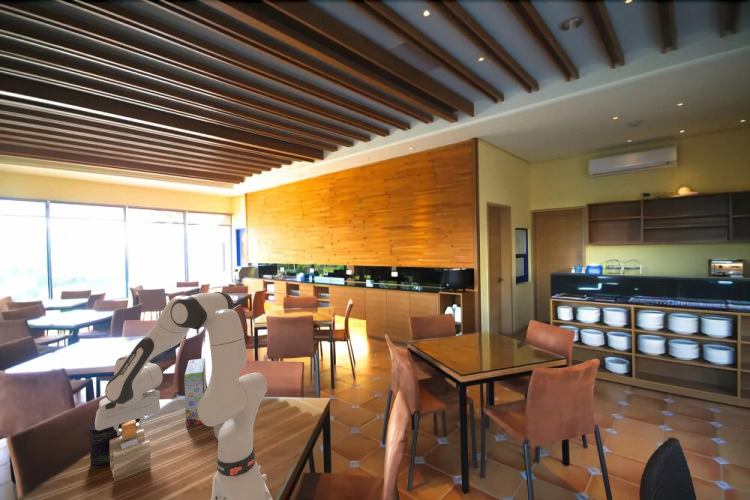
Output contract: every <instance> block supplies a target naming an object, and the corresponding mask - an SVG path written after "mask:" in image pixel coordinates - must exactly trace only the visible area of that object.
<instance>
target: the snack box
mask: <svg viewBox="0 0 750 500" xmlns="http://www.w3.org/2000/svg"><path fill="white" fill-rule="evenodd" d="M206 373H207V371H206V358H205V357H203V358H198V359H196V358H195V359H190V360H188V362H187V365H186V369H185V372H184V376H183V377H184V399H185V401H184V402H185V403H184V404H185V427H186V428H189V427H190V426H191V427H195V426H198V425H199V426H200V425H204V424H203V423H202V422H201V421H200V419H199V417H198V413H197V408H198V404H199V401H200V400H201V398H202V397H203V395H204V394H205V392H206V390H207V378H206V377H207V374H206Z"/></svg>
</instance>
